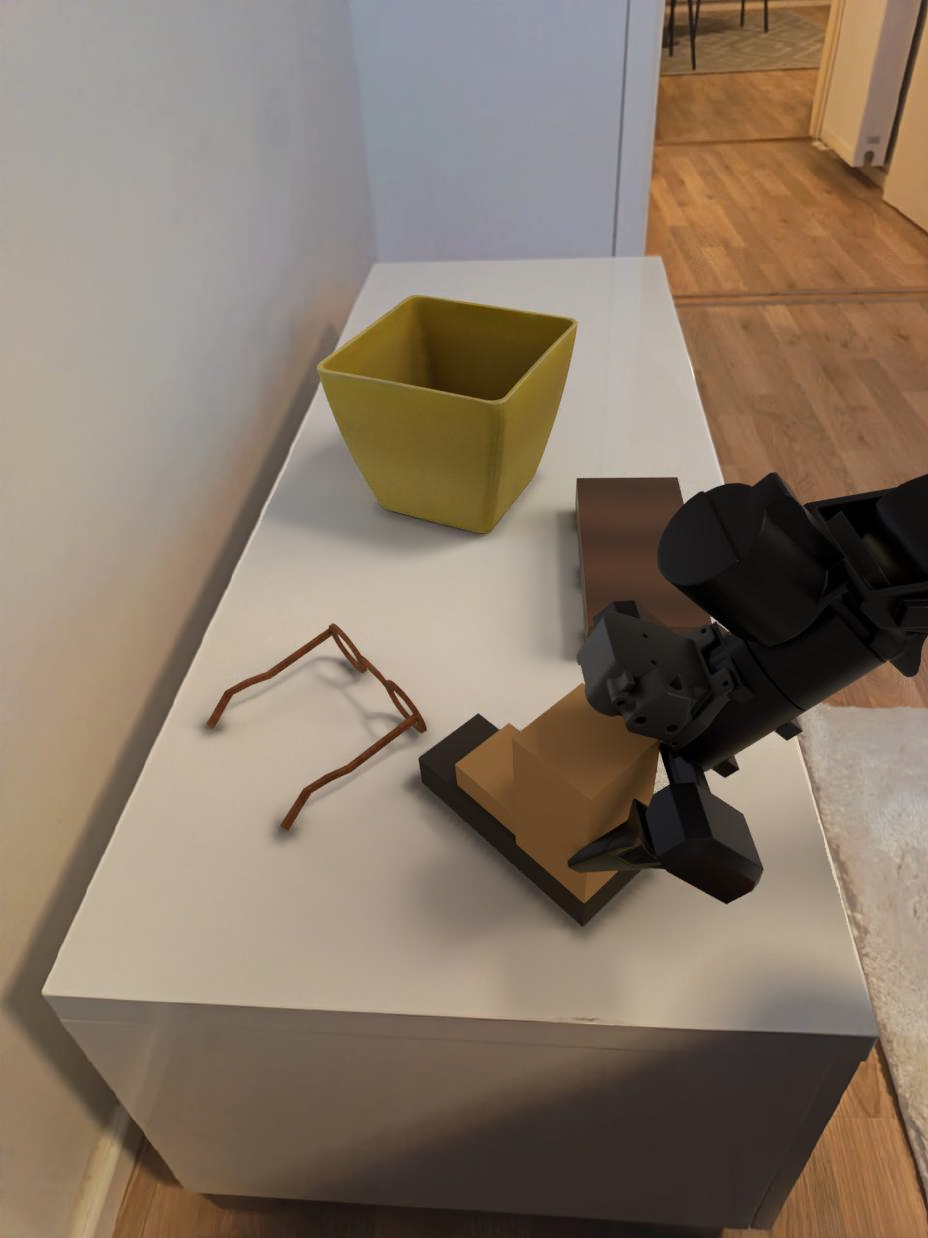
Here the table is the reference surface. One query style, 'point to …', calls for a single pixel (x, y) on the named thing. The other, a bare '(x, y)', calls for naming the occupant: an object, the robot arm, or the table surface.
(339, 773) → the glasses
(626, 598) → the brown wooden slab
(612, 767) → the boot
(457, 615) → the table surface
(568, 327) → the flower pot
